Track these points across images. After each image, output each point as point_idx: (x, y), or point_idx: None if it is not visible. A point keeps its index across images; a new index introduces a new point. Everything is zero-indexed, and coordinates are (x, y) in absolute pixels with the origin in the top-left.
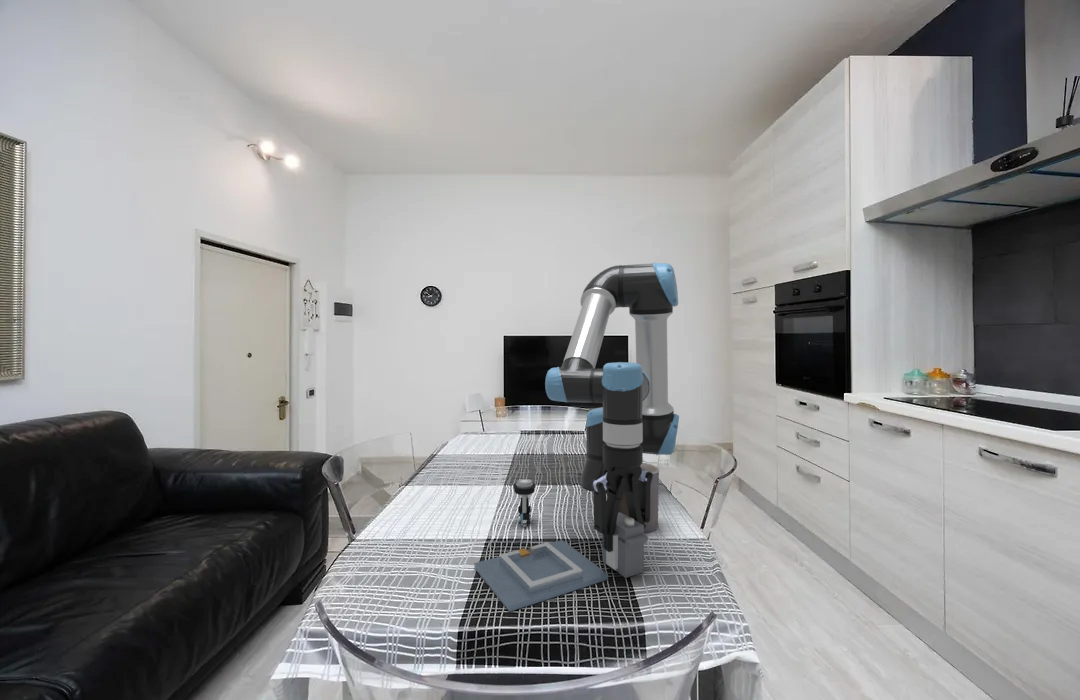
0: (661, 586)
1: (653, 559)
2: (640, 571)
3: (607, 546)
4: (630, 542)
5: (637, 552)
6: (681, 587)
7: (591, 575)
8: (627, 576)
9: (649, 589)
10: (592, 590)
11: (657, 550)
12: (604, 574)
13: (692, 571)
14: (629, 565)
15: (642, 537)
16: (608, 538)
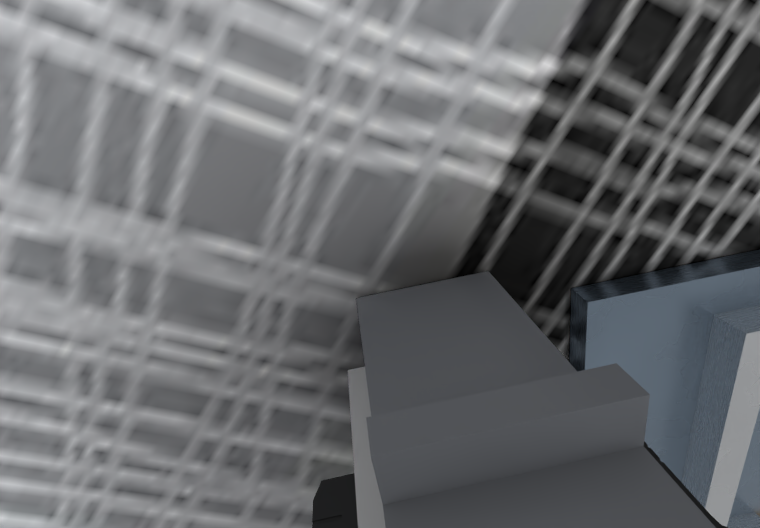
0: (334, 132)
1: (226, 398)
2: (382, 296)
3: (650, 449)
4: (627, 393)
5: (432, 366)
6: (207, 72)
7: (669, 314)
8: (476, 275)
9: (425, 127)
10: (702, 222)
11: (158, 467)
12: (606, 304)
13: (31, 226)
14: (482, 308)
15: (441, 453)
16: (698, 507)
